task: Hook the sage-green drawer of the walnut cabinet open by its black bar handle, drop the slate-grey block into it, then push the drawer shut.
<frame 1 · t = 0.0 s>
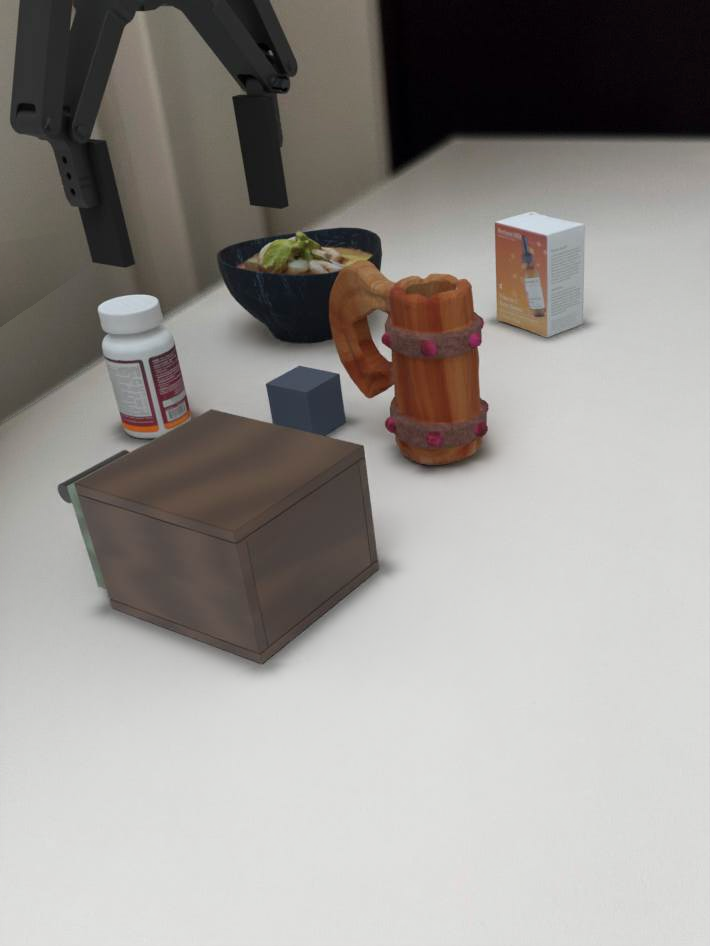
hand: (197, 233, 65), 22 cm above the dresser, tool pointing down, fingers open, 13 cm apart
small box: (540, 325, 114), on the dresser
cabinet: (247, 588, 73), on the dresser
mug: (417, 448, 91), on the dresser
drawer: (182, 512, 73), point 5 cm above the dresser, slide at 0.5 cm
bowl: (311, 331, 115), on the dresser
block: (310, 427, 95), on the dresser
pill bottle: (159, 428, 97), on the dresser
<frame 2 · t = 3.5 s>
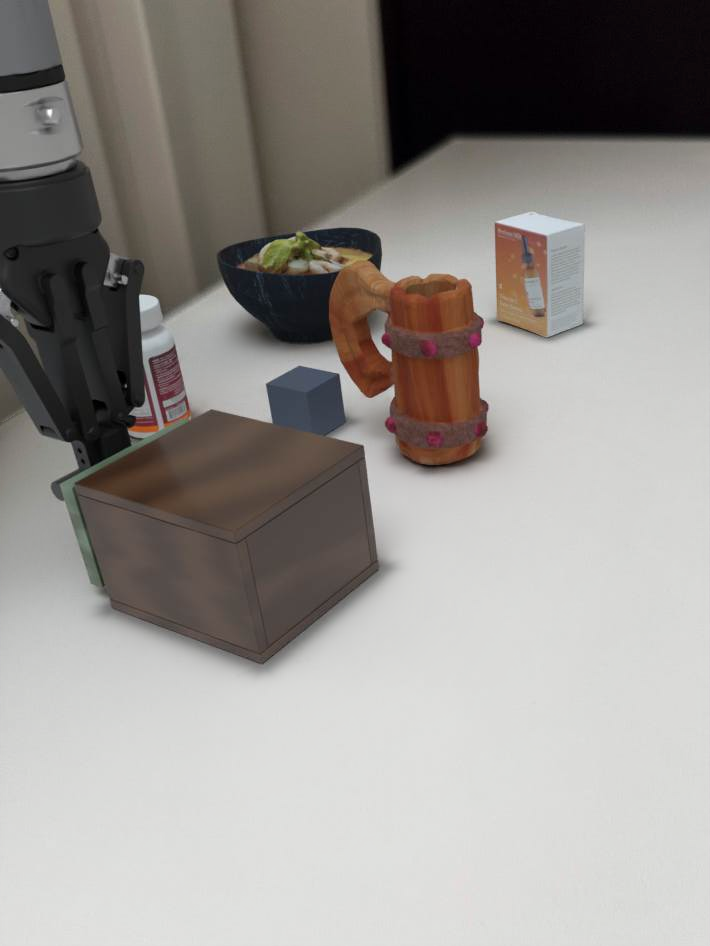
hand: (121, 513, 77), 3 cm above the dresser, tool pointing down, fingers closed
drawer: (174, 510, 73), point 5 cm above the dresser, slide at 1.2 cm
everything else where it was.
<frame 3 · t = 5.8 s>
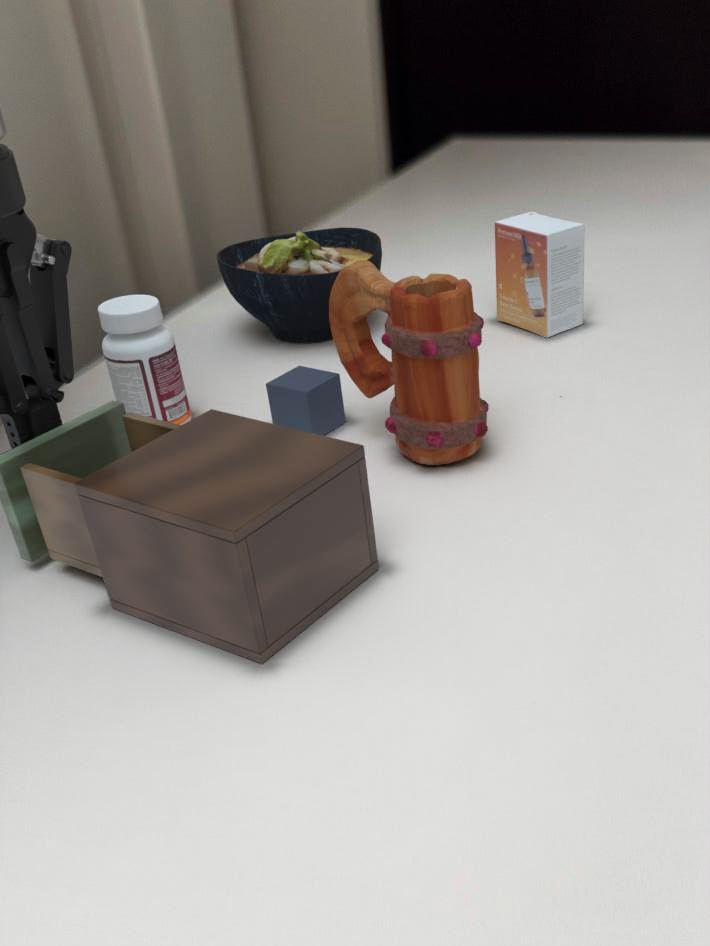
hand: (52, 485, 80), 4 cm above the dresser, tool pointing down, fingers closed
drawer: (101, 488, 76), point 5 cm above the dresser, slide at 8.6 cm
everything else where it was.
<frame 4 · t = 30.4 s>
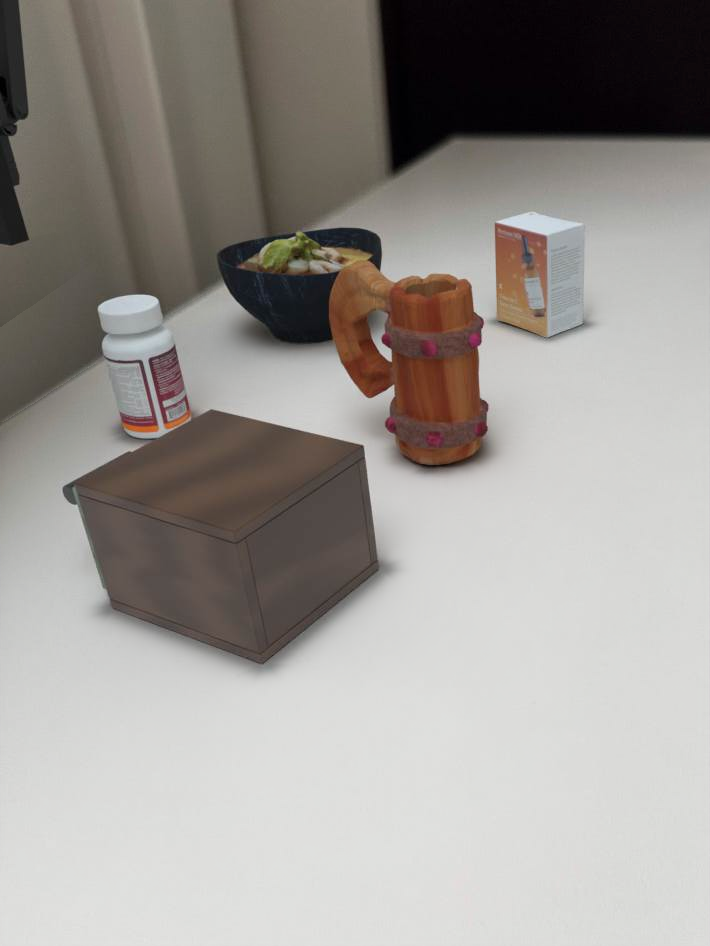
hand: (7, 240, 73), 20 cm above the dresser, tool pointing down, fingers closed
drawer: (187, 514, 73), point 5 cm above the dresser, slide at 0.0 cm, touching block, cabinet
block: (237, 535, 71), point 4 cm above the dresser, tilted 90°, touching drawer
everything else where it was.
at the end: drawer pulled out 8.7 cm at the most during the clip, back to where it started at the end; block inside the target area in the cabinet (0.1 cm from its centre), point 4.3 cm above the cabinet's base; drawer slide at 0.0 cm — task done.
